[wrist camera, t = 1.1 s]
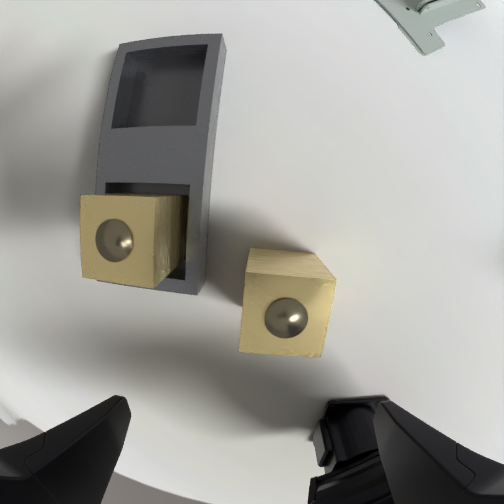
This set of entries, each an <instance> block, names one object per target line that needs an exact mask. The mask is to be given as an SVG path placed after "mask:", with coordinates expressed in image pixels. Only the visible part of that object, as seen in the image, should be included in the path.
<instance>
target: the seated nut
mask: <svg viewBox="0 0 504 504" xmlns="http://www.w3.org/2000/svg"><path fill="white" fill-rule="evenodd" d="M186 209H187V195H178V194H156V193H108V194H91V195H81V199H80V245H81V265H82V277H83V278H89V279H95V280H101V281H107V282H113V283H120V284H126V285H133V286H140V287H146V288H155V287H156V286H157V285H158V284H159V283H160V282H161V281H162V280H163V279H164V278H165V277H166V276H167V275H169V274H170V273H171V272H172V271H173V270H174V269H175V268H176V267H177V266H178V265H179V264H180V263H181V262H183V261H184V247H185V226H186Z"/></svg>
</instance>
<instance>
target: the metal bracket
mask: <svg viewBox="0 0 504 504" xmlns="http://www.w3.org/2000/svg"><path fill="white" fill-rule="evenodd" d="M375 1H376V2H377V3H378V4H379V5H380V6H381V7H382V8H383V9H384V10H385V11H386V12H387V13H388V14H389V15H390V16H391V17H392V18H393V19H394V20H395V22H396V23H397V24H398V28H399V29H400V30H401V32H402V33H403V34H404V35H405V36H406V38H407V39H408V40H409V41H410V42H411V44H412V45H413V46H414V47H415V49H416V50H417V51H418V52H419V53H420V54H422V55H423V56H426V55H428V54H430V53H432V52H434V51H436V50H439V49H441V48H443V47H444V46H445V44H444V42H443V40H442V39H441V38H440V37H439V35H438V34H437V33H436V32H435V30H434V27H437V26H439V25H441V24H444V23H446V22H449V21H451V20H454V19H456V18H459V17H462V16H465V15H467V14H470V13H473V12H476V11H479V10H482V9H484V8H485V5H484V4H483V3H482V2H481V0H375ZM476 3H478V4H479V5H480V7H479V6H478V5H477V4H476ZM406 8H408V9H409V10H407V9H406ZM428 33H430V34H431V36H429V35H428Z"/></svg>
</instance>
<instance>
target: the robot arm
mask: <svg viewBox="0 0 504 504" xmlns="http://www.w3.org/2000/svg"><path fill="white" fill-rule="evenodd" d="M330 406H332V407H330ZM130 419H131V411H130V408H129V405H128V402H127V400H126V398H125V397H123V396H118V395H114V396H112V397H110V398H108V399H107V400H105V401H103V402H101V403H99V404H98V405H96V406H94V407H92V408H90V409H88V410H86V411H85V412H83V413H81V414H79V415H77V416H75V417H73V418H71V419H69V420H67V421H65V422H64V423H62V424H60V425H58V426H56V427H54V428H52V429H50V430H48V431H46V432H43V433H41V434H39V435H37V436H35V437H33V438H30V439H28V440H26V441H23V442H20V443H17V444H14V445H11V446H8V447H5V448H2V449H0V504H101V501H102V499H103V496H104V493H105V491H106V488H107V486H108V483H109V481H110V478H111V476H112V473H113V471H114V468H115V466H116V463H117V461H118V458H119V456H120V453H121V451H122V448H123V445H124V441H125V437H126V434H127V430H128V426H129V423H130ZM313 440H314V441H313V444H314V446H315V451H316V457H317V463H318V466H320V467H324V470H325V474H324V475H321V476H319V477H317V476H316V477H313V478H311V480H310V486H309V495H308V504H504V464H501V463H499V462H496V461H494V460H491V459H489V458H486V457H484V456H482V455H480V454H478V453H475V452H473V451H471V450H470V449H468V448H466V447H464V446H462V445H461V444H459V443H456V441H454V440H452V439H451V438H449V437H447V436H446V435H444V434H442V433H441V432H439V431H438V430H436V429H434V428H433V427H431V426H429V425H428V424H426V423H425V422H423V421H422V420H420V419H418V418H417V417H415V416H414V415H412V414H411V413H409V412H407V411H406V410H404V409H403V408H401V407H400V406H398V405H397V404H395V403H394V402H392V401H390V399H389V398H387V397H386V398H375V399H362V400H342V401H330V402H328V403H327V405H326V407H325V410H324V413H323V416H322V419H320V420H319V421H318V424H317V426H316V429H315V432H314V435H313Z"/></svg>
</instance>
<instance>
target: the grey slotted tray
mask: <svg viewBox="0 0 504 504" xmlns="http://www.w3.org/2000/svg"><path fill="white" fill-rule="evenodd" d="M225 57H226V46H225V42H224V39H223V35H222V34H195V35H181V36H170V37H161V38H153V39H146V40H140V41H134V42H128V43H123V44H119V48H118V51H117V55H116V59H115V63H114V67H113V71H112V75H111V79H110V84H109V89H108V94H107V99H106V104H105V110H104V116H103V122H102V129H101V136H100V144H99V153H98V164H97V176H96V193H95V194H108V193H156V194H178V195H187V209H186V226H185V247H184V261H183V262H181V263H180V264H179V265H178V266H177V267H176V268H175V269H174V270H173V271H172V272H171V273H170V274H169V275H167V276H166V277H165V278H164V279H163V280H162V281H161V282H160V283H159V284H158V285H157V286H156V287H155V288H146V287H140V286H133V285H126V284H120V283H113V282H107V281H101V280H97V281H101V282H107V283H113V284H119V285H125V286H132V287H139V288H146V289H153V290H160V291H167V292H175V293H183V294H191V295H198V293H199V292H200V290H201V288H202V287H203V285H204V283H205V267H206V248H207V231H208V216H209V203H210V190H211V178H212V167H213V156H214V146H215V136H216V127H217V118H218V110H219V101H220V93H221V86H222V78H223V71H224V64H225Z"/></svg>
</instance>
